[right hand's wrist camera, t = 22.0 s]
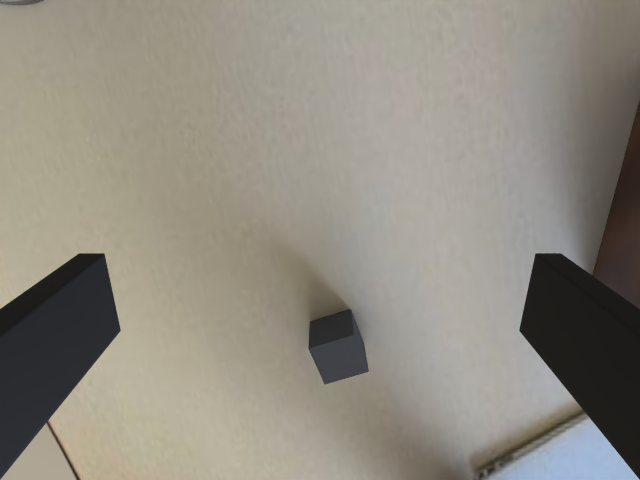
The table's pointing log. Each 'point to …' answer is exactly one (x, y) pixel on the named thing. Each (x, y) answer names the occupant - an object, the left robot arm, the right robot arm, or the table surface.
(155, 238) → the table surface
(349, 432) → the table surface
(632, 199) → the beam
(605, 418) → the right robot arm
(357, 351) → the grey block
